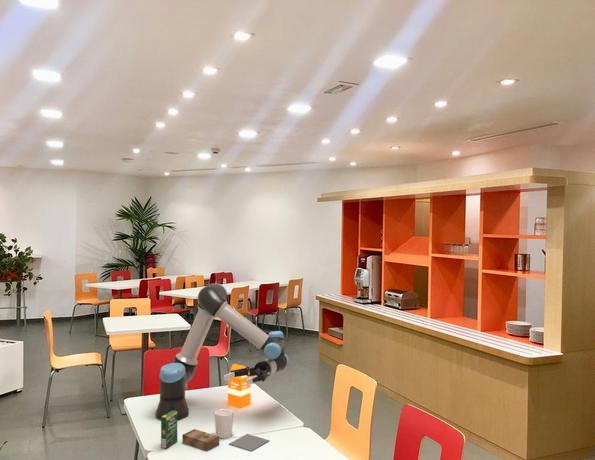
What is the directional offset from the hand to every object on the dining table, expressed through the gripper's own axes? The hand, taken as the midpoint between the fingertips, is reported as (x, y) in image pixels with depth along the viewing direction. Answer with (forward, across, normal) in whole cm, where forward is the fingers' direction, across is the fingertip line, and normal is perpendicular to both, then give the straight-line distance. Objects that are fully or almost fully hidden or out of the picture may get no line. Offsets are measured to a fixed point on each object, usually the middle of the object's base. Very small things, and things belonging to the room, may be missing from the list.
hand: (235, 380), depth 225 cm
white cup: (+9, 0, -21) cm, 23 cm away
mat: (+9, -14, -22) cm, 27 cm away
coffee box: (+30, +11, -20) cm, 37 cm away
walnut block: (+21, +2, -21) cm, 30 cm away
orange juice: (-23, +20, -21) cm, 37 cm away
